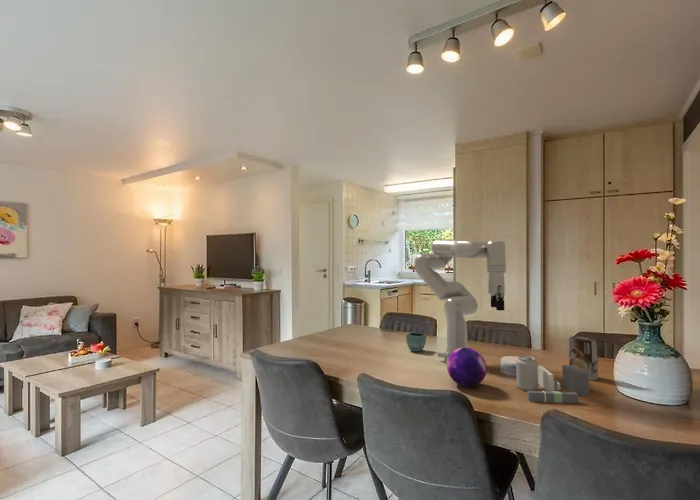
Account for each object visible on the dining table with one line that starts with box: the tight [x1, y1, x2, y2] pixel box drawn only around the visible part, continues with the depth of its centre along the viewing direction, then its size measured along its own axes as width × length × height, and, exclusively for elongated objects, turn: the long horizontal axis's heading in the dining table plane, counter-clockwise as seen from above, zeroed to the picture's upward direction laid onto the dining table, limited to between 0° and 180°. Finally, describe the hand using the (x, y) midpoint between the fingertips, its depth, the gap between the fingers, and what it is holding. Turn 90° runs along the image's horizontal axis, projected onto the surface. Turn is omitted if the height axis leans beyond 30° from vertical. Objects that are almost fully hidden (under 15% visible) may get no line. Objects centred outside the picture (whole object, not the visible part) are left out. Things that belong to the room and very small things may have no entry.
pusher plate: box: [538, 365, 561, 391], centre depth 139 cm, size 6×16×7 cm, turn 172°
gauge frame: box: [526, 364, 590, 404], centre depth 137 cm, size 23×18×8 cm
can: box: [515, 355, 539, 392], centre depth 143 cm, size 8×8×12 cm
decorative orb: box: [446, 346, 487, 388], centre depth 147 cm, size 15×15×15 cm
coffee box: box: [568, 335, 599, 381], centre depth 155 cm, size 9×6×16 cm
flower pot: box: [405, 331, 427, 352], centre depth 203 cm, size 9×9×9 cm
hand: (497, 308), depth 161 cm, fingers open, 9 cm apart
